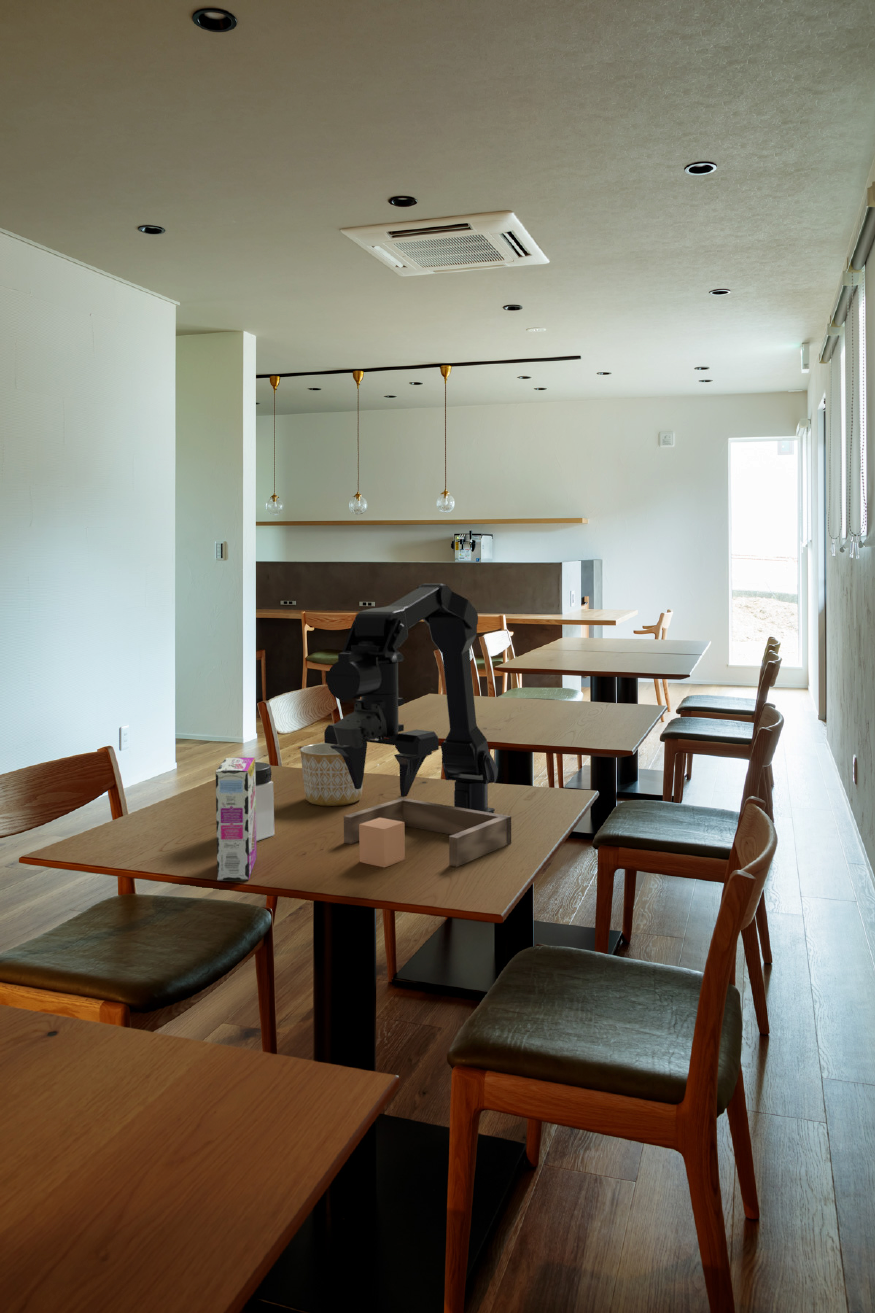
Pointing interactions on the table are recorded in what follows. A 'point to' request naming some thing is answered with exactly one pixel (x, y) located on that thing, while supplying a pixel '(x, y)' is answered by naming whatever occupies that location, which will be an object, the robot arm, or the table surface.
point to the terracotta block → (382, 842)
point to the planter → (327, 777)
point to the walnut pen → (440, 826)
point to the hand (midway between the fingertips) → (380, 792)
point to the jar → (264, 801)
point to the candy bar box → (236, 818)
